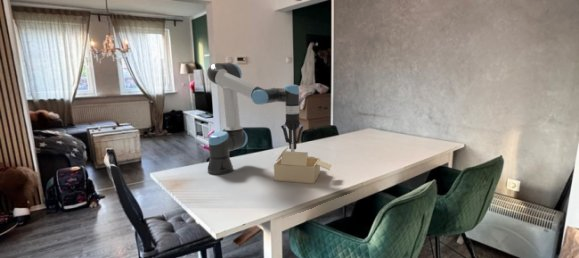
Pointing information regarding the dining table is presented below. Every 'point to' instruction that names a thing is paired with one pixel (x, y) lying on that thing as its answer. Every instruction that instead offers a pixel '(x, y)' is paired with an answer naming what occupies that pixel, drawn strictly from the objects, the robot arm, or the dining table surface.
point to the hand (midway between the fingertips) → (292, 154)
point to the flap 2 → (294, 158)
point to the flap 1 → (281, 154)
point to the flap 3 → (324, 164)
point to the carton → (297, 172)
